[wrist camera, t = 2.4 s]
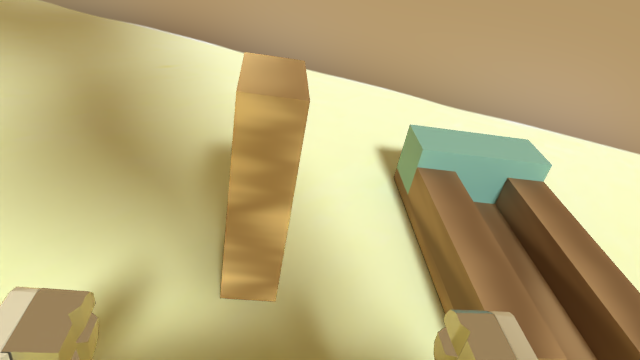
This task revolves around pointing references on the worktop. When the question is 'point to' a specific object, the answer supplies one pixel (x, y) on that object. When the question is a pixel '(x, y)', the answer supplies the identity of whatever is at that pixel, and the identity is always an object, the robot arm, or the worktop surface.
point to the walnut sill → (514, 245)
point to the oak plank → (263, 173)
